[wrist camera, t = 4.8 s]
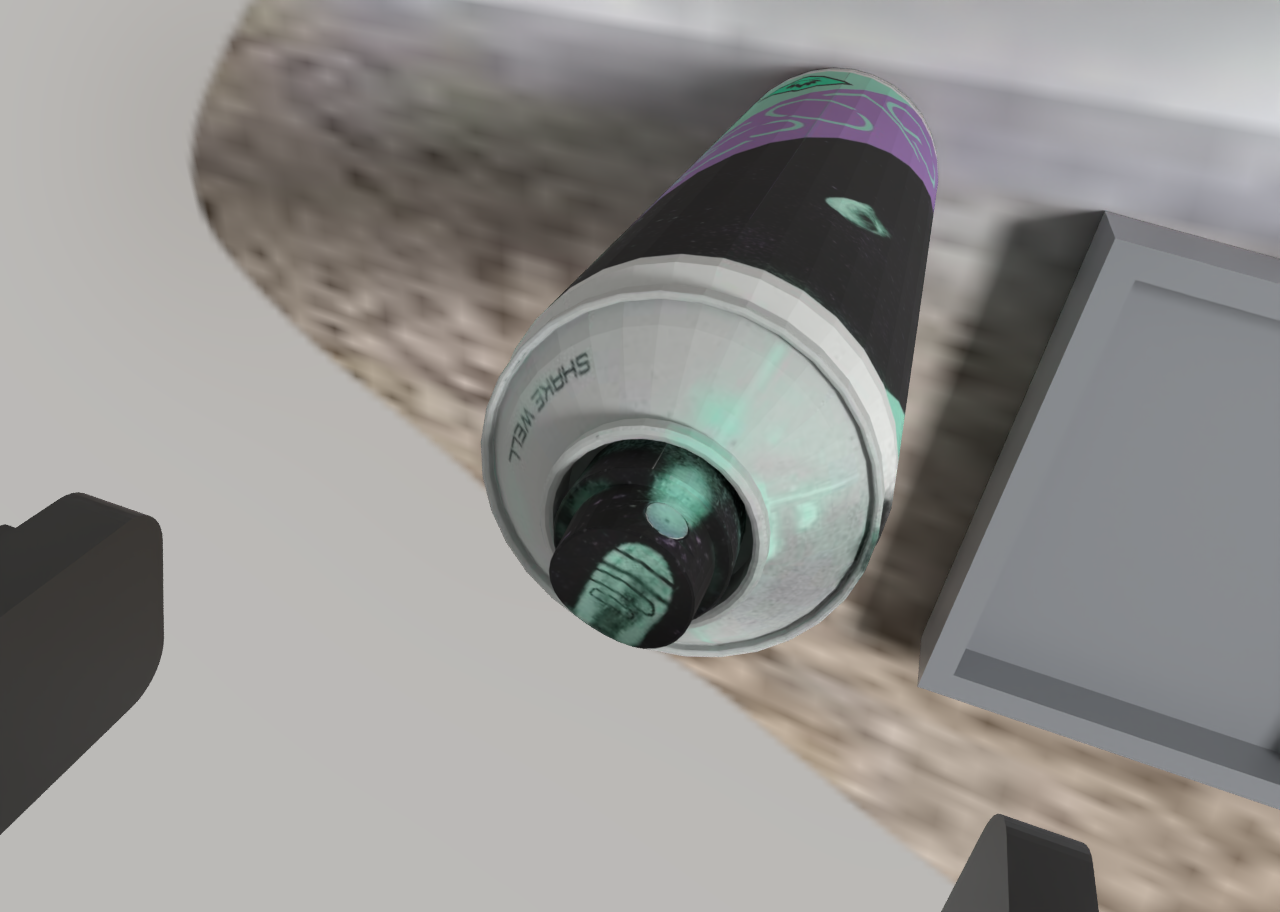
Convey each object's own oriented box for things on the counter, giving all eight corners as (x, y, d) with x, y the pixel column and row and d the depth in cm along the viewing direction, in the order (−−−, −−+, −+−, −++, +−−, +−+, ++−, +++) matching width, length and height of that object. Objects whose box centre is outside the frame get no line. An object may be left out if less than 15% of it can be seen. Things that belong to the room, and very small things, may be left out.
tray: (1104, 210, 28) (1115, 238, 26) (1612, 350, 26) (1668, 392, 24) (921, 637, 35) (917, 686, 33) (1313, 767, 33) (1336, 829, 31)
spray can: (946, 64, 27) (890, 374, 10) (931, 279, 30) (865, 820, 13) (727, 68, 29) (353, 344, 12) (730, 273, 31) (425, 752, 14)
